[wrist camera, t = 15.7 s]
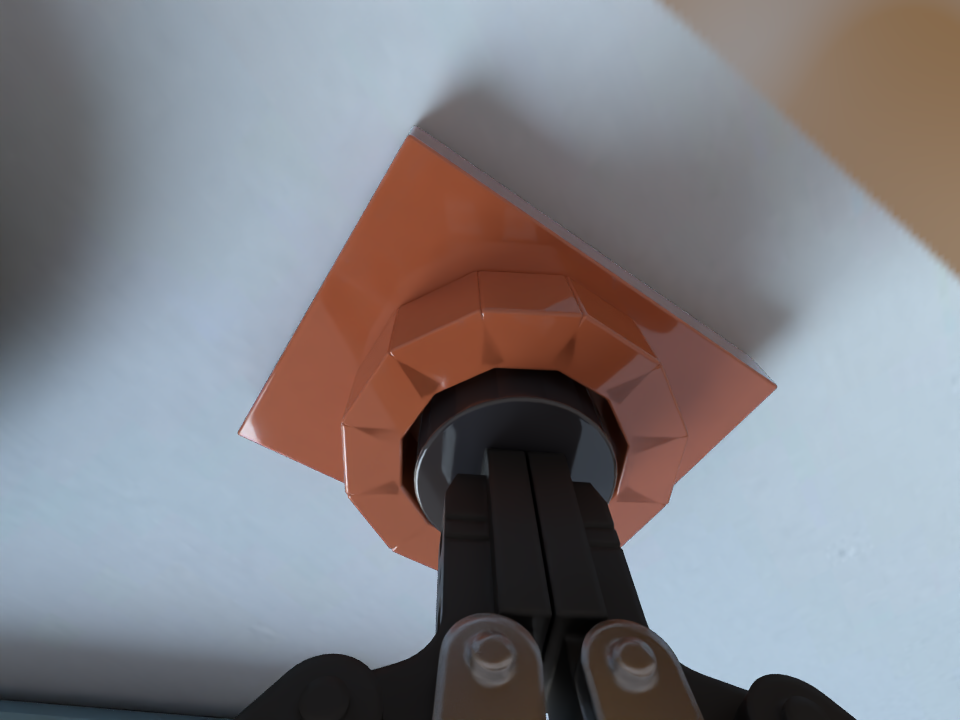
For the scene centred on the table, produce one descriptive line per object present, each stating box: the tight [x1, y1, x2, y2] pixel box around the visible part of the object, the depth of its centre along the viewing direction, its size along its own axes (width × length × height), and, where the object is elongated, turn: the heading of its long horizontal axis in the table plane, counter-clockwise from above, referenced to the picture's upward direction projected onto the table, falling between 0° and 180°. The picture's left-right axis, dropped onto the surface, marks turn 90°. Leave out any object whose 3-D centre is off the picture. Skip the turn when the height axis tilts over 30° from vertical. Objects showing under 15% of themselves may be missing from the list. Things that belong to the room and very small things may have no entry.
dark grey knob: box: [414, 368, 617, 533], centre depth 12 cm, size 4×4×2 cm
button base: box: [238, 125, 777, 571], centre depth 13 cm, size 10×8×4 cm
